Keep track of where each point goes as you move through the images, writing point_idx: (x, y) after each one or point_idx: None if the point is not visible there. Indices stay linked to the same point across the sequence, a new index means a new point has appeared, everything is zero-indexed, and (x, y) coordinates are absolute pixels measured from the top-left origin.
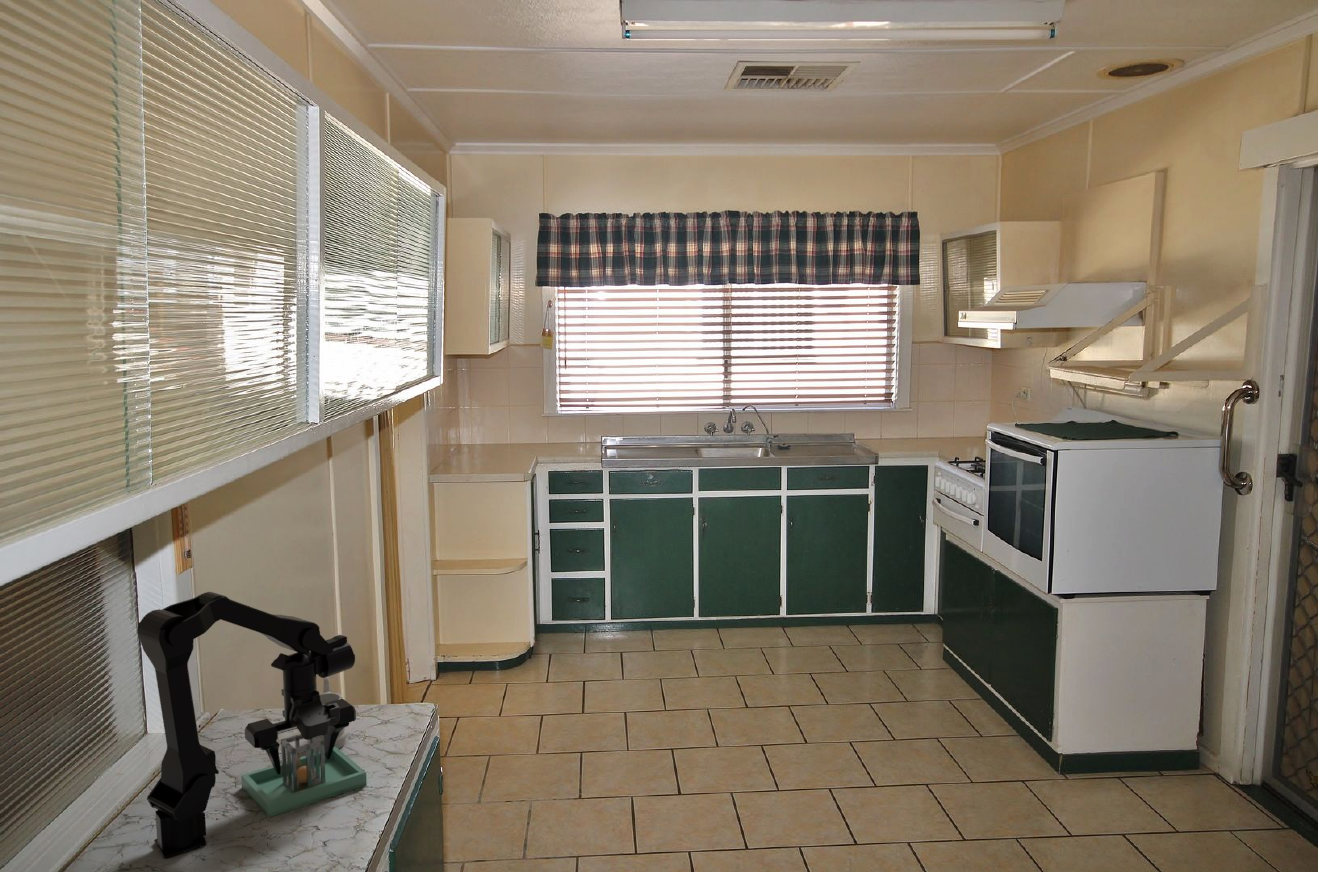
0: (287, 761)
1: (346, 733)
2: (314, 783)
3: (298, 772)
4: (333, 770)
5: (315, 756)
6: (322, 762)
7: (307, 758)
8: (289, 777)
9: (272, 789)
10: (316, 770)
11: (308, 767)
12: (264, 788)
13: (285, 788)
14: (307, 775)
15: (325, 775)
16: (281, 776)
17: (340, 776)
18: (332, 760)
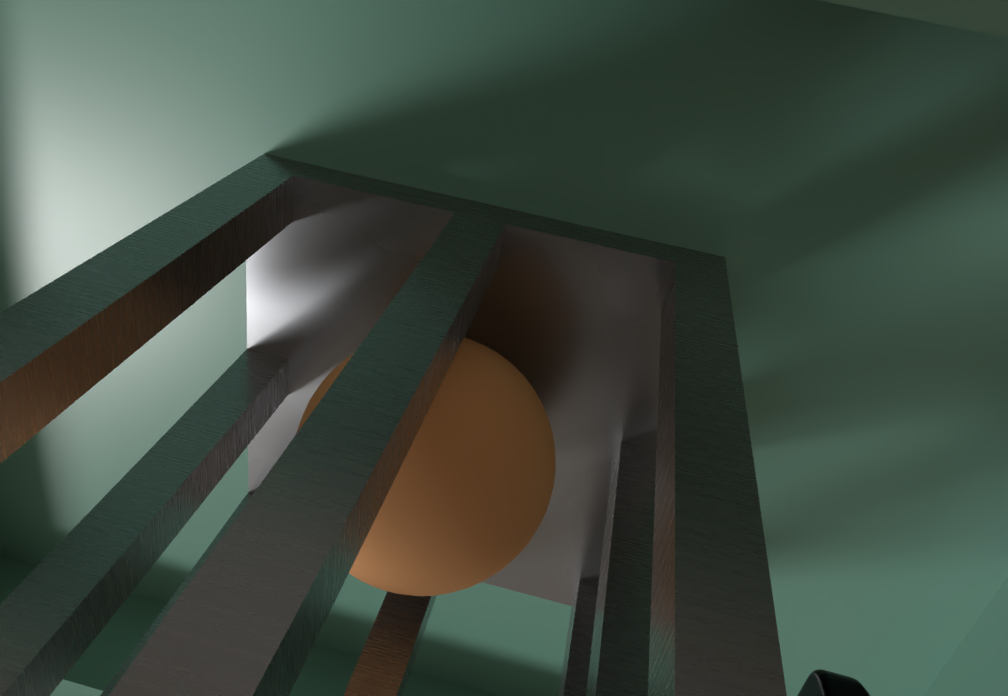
0: None
1: None
2: (381, 257)
3: (513, 519)
4: None
5: (96, 605)
6: (50, 327)
7: (304, 581)
8: (649, 543)
9: (787, 573)
10: (236, 419)
11: (387, 400)
12: (823, 649)
13: None
14: (454, 334)
15: (175, 358)
16: (535, 684)
17: (28, 185)
18: (14, 542)
